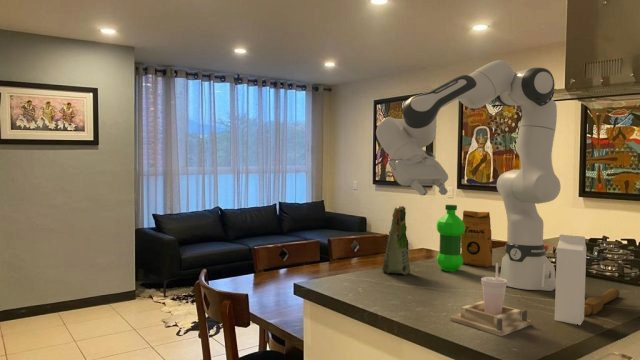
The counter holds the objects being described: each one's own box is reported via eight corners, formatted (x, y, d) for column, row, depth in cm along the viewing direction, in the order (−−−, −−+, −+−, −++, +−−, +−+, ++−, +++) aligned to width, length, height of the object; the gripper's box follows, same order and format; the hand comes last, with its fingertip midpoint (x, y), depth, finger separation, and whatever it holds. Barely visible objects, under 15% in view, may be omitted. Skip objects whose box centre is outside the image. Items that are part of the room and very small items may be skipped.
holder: (481, 310, 128) (481, 298, 128) (531, 324, 117) (531, 310, 117) (450, 320, 119) (450, 306, 119) (501, 336, 108) (501, 321, 108)
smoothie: (509, 322, 115) (511, 266, 115) (481, 320, 116) (483, 264, 116) (503, 314, 122) (505, 260, 121) (477, 312, 123) (479, 259, 122)
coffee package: (487, 268, 183) (489, 212, 183) (456, 264, 191) (458, 210, 190) (495, 265, 191) (497, 211, 191) (465, 260, 199) (467, 209, 198)
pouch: (401, 268, 181) (403, 204, 180) (418, 275, 169) (420, 206, 169) (375, 270, 177) (377, 204, 176) (391, 277, 165) (393, 206, 165)
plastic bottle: (449, 274, 173) (451, 206, 172) (430, 268, 182) (431, 204, 181) (469, 271, 178) (471, 205, 177) (449, 266, 187) (450, 203, 186)
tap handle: (620, 288, 145) (589, 306, 124) (620, 298, 145) (589, 318, 124) (609, 286, 147) (577, 304, 126) (608, 296, 147) (576, 315, 126)
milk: (558, 315, 126) (561, 233, 125) (584, 319, 122) (587, 235, 122) (554, 320, 121) (556, 235, 120) (580, 325, 117) (583, 237, 117)
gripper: (391, 151, 134) (417, 186, 127) (436, 153, 147) (462, 186, 140) (380, 166, 138) (404, 201, 130) (424, 167, 151) (449, 200, 143)
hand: (435, 193), depth 135 cm, fingers open, 8 cm apart
